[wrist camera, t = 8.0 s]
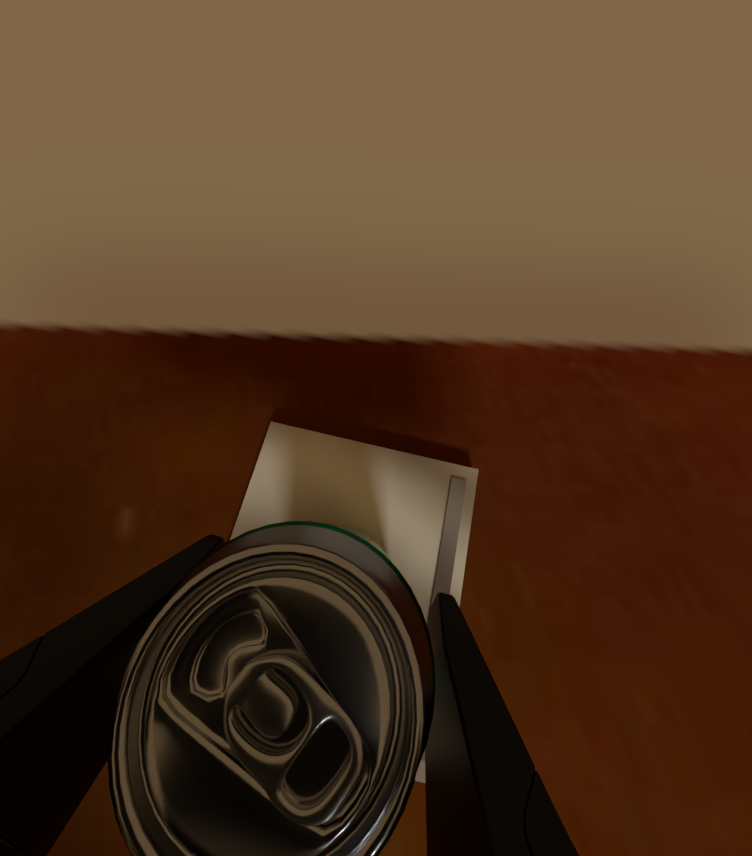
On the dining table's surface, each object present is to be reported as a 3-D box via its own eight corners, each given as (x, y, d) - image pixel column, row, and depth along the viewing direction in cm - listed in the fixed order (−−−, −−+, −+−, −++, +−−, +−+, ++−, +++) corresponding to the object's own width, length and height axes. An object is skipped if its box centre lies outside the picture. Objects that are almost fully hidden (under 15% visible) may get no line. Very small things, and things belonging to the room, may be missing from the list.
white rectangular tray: (430, 768, 15) (435, 788, 13) (183, 699, 15) (168, 713, 14) (472, 472, 19) (479, 468, 17) (275, 426, 19) (270, 420, 18)
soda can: (336, 505, 17) (273, 456, 5) (410, 572, 16) (522, 682, 5) (266, 585, 16) (-7, 741, 4) (342, 662, 15) (261, 1131, 3)
